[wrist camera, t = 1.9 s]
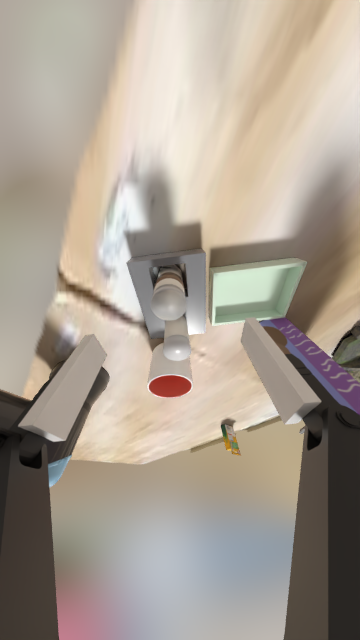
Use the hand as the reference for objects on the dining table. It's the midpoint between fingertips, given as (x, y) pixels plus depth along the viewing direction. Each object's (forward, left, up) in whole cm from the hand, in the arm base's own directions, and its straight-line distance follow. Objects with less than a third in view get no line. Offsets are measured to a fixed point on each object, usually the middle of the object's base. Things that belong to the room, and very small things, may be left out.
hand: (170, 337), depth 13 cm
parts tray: (+15, -5, -17) cm, 23 cm away
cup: (-3, -21, -17) cm, 27 cm away
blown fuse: (0, 0, -17) cm, 17 cm away
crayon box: (+18, -85, -17) cm, 89 cm away
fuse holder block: (0, -4, -17) cm, 17 cm away
